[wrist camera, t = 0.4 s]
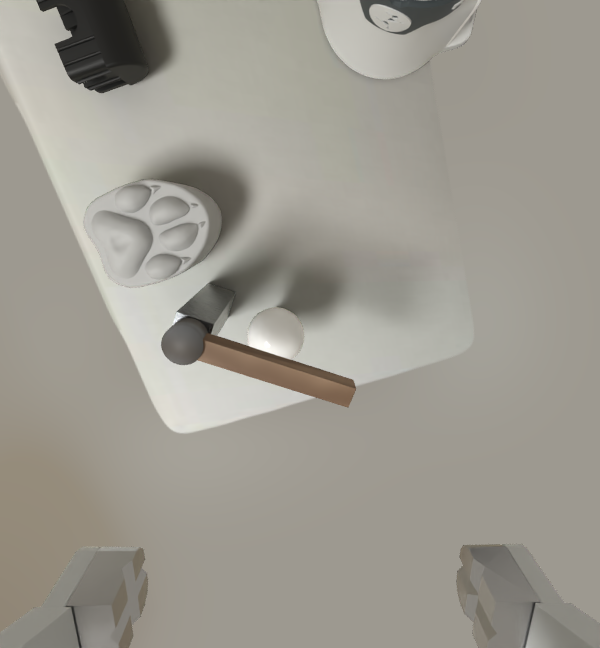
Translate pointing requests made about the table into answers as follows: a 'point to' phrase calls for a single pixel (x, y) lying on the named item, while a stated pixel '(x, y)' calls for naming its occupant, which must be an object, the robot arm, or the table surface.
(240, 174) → the table surface
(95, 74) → the end cap
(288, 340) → the lightbulb
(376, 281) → the table surface
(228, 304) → the post
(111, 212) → the lumpy-topped squat cylinder
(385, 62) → the robot arm
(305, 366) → the hammer
